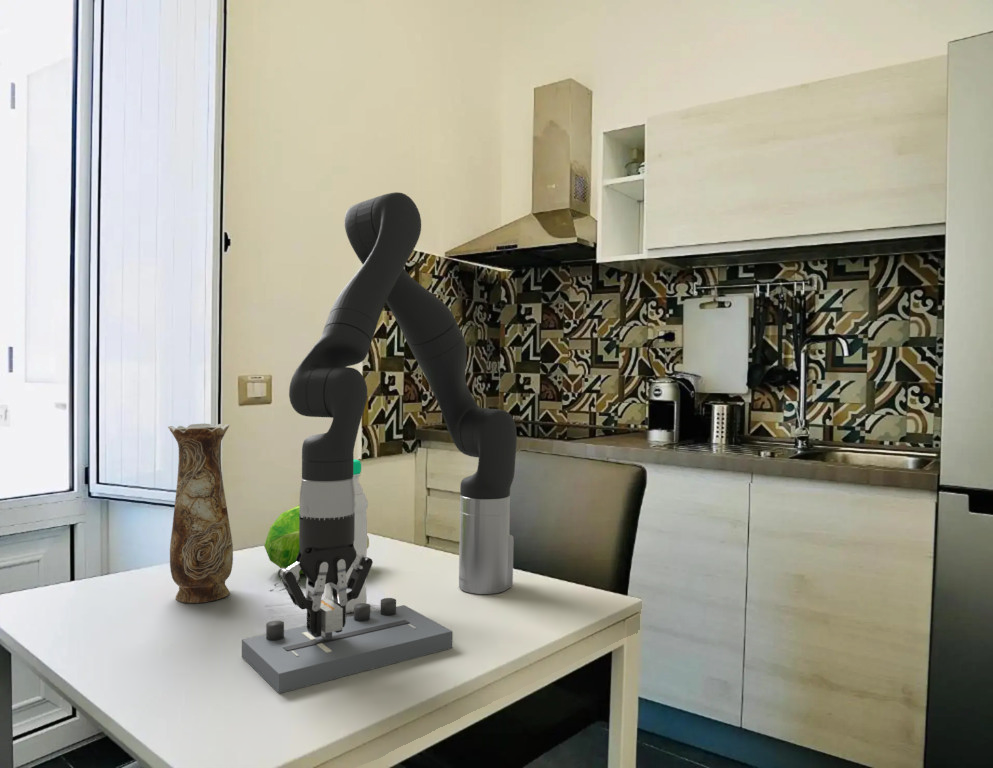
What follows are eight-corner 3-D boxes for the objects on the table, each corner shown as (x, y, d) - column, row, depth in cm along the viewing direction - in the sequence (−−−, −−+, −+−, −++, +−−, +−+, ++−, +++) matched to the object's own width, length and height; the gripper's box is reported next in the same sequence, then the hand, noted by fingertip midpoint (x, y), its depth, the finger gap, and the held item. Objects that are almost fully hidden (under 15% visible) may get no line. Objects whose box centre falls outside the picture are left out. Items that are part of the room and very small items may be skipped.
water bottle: (356, 616, 121) (358, 463, 120) (316, 612, 122) (318, 461, 121) (372, 602, 128) (374, 458, 127) (334, 599, 129) (336, 456, 128)
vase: (206, 608, 123) (207, 428, 123) (154, 601, 126) (154, 426, 126) (245, 590, 133) (246, 424, 132) (195, 583, 136) (196, 421, 136)
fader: (327, 630, 106) (327, 597, 106) (342, 641, 102) (342, 607, 102) (310, 633, 105) (310, 601, 105) (325, 644, 101) (325, 610, 101)
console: (403, 620, 119) (404, 592, 119) (452, 647, 108) (452, 617, 108) (241, 656, 103) (241, 624, 103) (278, 693, 92) (279, 657, 92)
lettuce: (373, 578, 142) (374, 508, 141) (263, 586, 136) (264, 512, 136) (363, 558, 156) (364, 494, 156) (264, 564, 151) (264, 497, 150)
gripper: (360, 500, 110) (359, 615, 111) (268, 510, 102) (267, 635, 102) (384, 509, 104) (383, 631, 105) (289, 520, 96) (288, 653, 96)
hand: (326, 632), depth 103 cm, fingers closed on fader, 2 cm apart
